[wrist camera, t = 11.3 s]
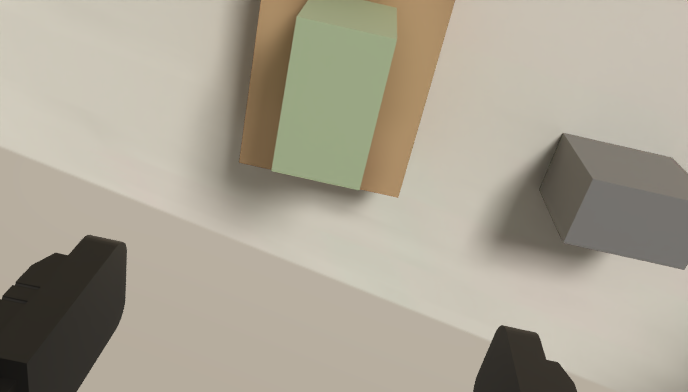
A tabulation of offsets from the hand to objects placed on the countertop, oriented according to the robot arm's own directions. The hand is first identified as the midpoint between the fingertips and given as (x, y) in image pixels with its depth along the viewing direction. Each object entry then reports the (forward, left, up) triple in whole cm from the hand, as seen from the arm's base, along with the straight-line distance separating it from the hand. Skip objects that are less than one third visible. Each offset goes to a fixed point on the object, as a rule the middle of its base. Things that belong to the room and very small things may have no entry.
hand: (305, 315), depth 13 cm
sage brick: (+1, -1, -16) cm, 16 cm away
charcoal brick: (-14, +3, -20) cm, 25 cm away
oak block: (+1, 0, -20) cm, 20 cm away
